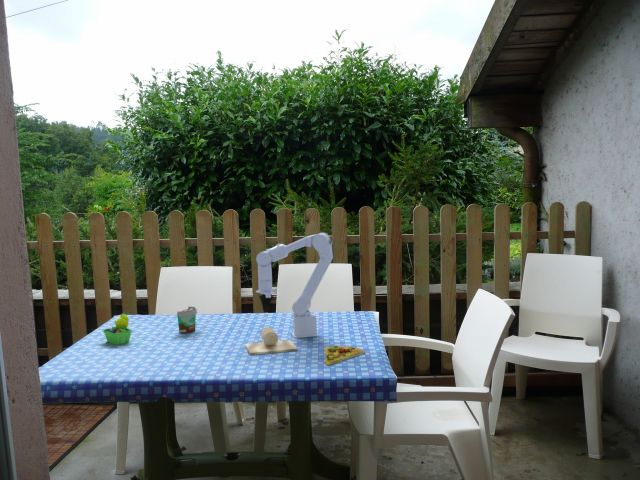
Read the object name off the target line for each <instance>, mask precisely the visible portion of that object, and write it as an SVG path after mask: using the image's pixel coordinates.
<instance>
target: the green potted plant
mask: <svg viewBox="0 0 640 480" xmlns="http://www.w3.org/2000/svg"><path fill="white" fill-rule="evenodd" d="M129 320H130V317H129V315H128V314H126V313H121V314H120V316H119V317H118V318H116V320H114V324H115V326H111V328H105V329H103V330H102V332H103V334H104V335H105V336H104V337H105V339H106V342H107V343H111V344H114V345H117V346H118V345H122V344H126V343H130V338H131V334H132V331H133V330H132V329H130V328H128V327H129V323H130V322H129Z"/></svg>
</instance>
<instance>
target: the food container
mask: <svg viewBox="0 0 640 480" xmlns="http://www.w3.org/2000/svg"><path fill="white" fill-rule="evenodd" d="M197 314H198V309H197V308H196V307H195V306H190V305H189V306H188V308H187V309H183V310H181V311H177V313H176V317H177V323H178V334H179V335H182V334H183V335H185V334H190V333H191V334H192V333H194V332H196V325H197V324H196V323H197V322H196V319H197Z"/></svg>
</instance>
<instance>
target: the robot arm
mask: <svg viewBox="0 0 640 480" xmlns="http://www.w3.org/2000/svg"><path fill="white" fill-rule="evenodd" d="M332 245H333V242H332V240H331V238H330V236H329V235H328V233H326V232H320V233H317V234H316V233H315V234H312V235H307V236H305V237H303V238H300V239H298V240H296V241H294V242H292V243H289V244H287V245H285V244H284V243H278V244H275V246H273V247H271V248H265V251H260V252H259V253H258V254H257V255H256V258H255V262H256V264H257V277H258V280H257V281H258V282H257V284H258V290H255V293H256V294H260V295H258V298H259V300H260V303H261V307H262V310H263V313H270V307H271V304H272V300H273V298H274V296H273V294H272V293H273V291H274V289H273V274H272V273H273V271H272V262H273V263H275V262H277V261H280V260H282V259H284V258H287V257H288V255H289V254H290V253H291V252H293V251H297V250H298V249H302V248H304V247H307V248H312V247H313V249H315V250H316V251H317V254H318V257H319V260H318V262H317V264H316V265H315V268H314V270H313V272H312V273H311V276H310V278H308V279H309V280H307V283H306V285H305V286H304V289H303V290H302V292H301V293H300V296H299V297H298V299H297V300H295V301H294V302H293V304H292V307H291V309H292V312H293V314H292V315H293V317H292V319H293V322H292V323H293V332H291V335H292V337H294V338H295V339H298V338H299V339H301V338H302V339H303V338H311V337H312V338H313V337H318V332H317V331H318V329H317V327H318V326H317V316H316V313H311V310H309V309H310V308H311V305H312V300H313V297H314V295H315V293H316V292H317V289H318V288H319V285H320V284H321V282H322V280H323V278H324V276H325V274H326V272H327V270H328V269H329V266H330V265H331V263H332V261H333V259H334V255H333V246H332Z"/></svg>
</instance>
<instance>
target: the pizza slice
mask: <svg viewBox="0 0 640 480" xmlns="http://www.w3.org/2000/svg"><path fill="white" fill-rule="evenodd" d="M324 350H325V351H324V352H325V366H327V367H328V366H331V365H334V364H337V363H340V362H342V361H346V360H349V359H353V358H355V357H357V356H361V355H364V354H365V352H366V351H365V350H364V349H363V348H359V347H354V346H345V345H334V346H331V345H330V346H326V347H325V349H324Z"/></svg>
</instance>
